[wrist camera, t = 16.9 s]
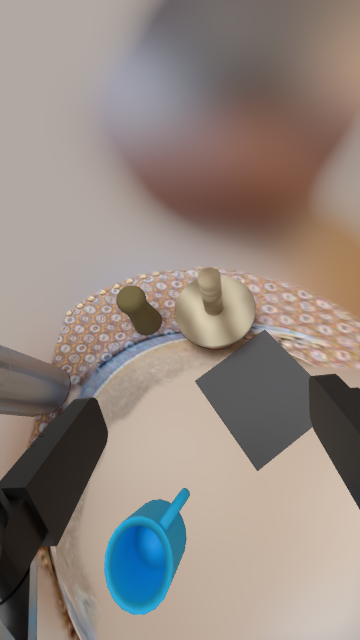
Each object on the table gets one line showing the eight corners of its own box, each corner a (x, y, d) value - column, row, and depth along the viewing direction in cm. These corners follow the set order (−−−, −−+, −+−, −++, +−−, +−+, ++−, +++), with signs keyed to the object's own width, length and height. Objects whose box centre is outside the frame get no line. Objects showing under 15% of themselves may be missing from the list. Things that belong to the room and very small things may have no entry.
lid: (205, 364, 37) (197, 342, 28) (162, 306, 44) (144, 274, 35) (273, 315, 39) (285, 280, 30) (221, 266, 45) (218, 225, 36)
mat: (257, 470, 34) (257, 471, 34) (195, 381, 42) (194, 381, 41) (338, 405, 36) (339, 404, 35) (264, 330, 43) (264, 329, 43)
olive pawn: (159, 335, 47) (140, 310, 37) (132, 335, 48) (107, 310, 39) (163, 309, 50) (147, 279, 40) (137, 309, 51) (115, 280, 41)
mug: (160, 591, 31) (138, 639, 23) (120, 536, 34) (90, 563, 27) (213, 507, 33) (208, 527, 26) (172, 463, 37) (157, 471, 30)
